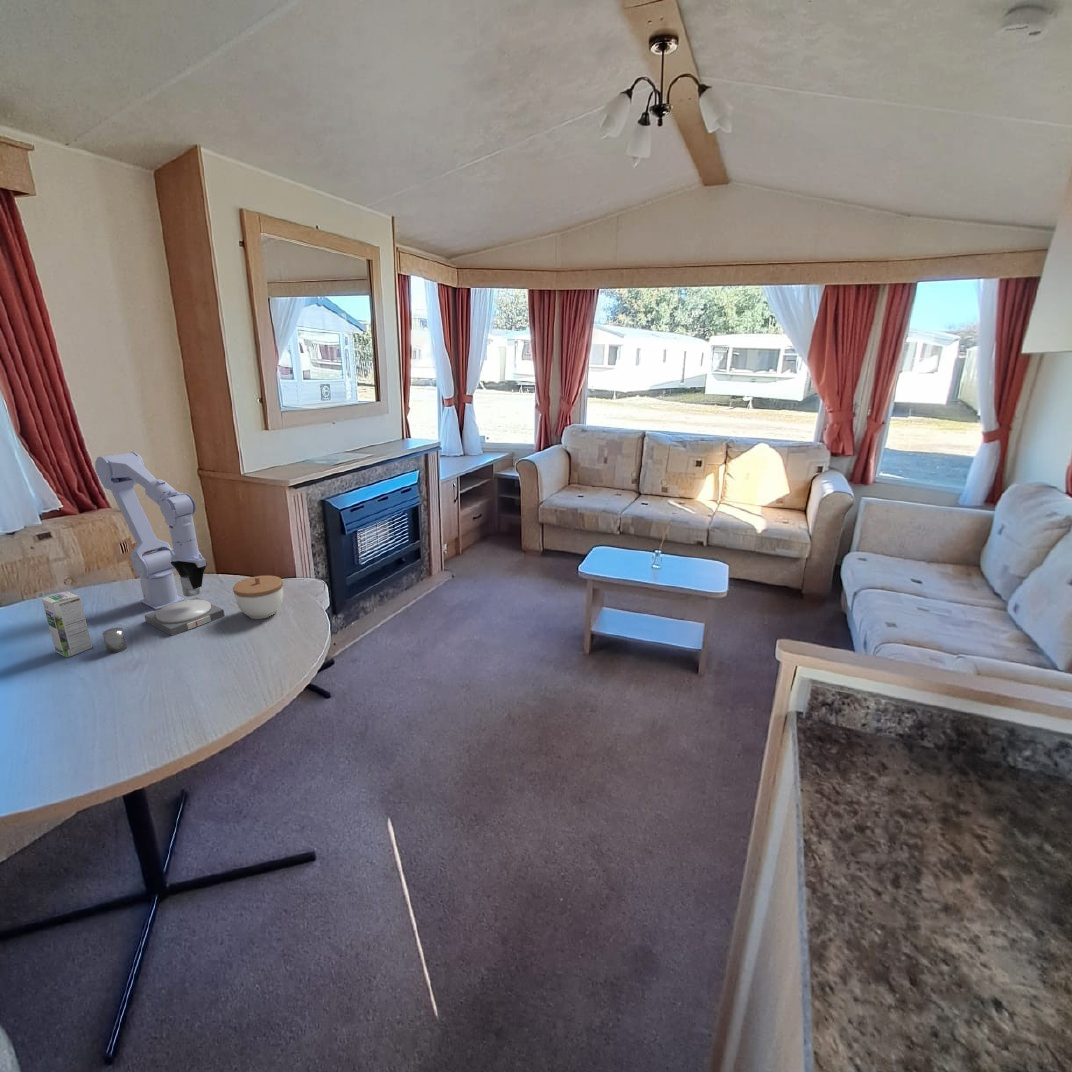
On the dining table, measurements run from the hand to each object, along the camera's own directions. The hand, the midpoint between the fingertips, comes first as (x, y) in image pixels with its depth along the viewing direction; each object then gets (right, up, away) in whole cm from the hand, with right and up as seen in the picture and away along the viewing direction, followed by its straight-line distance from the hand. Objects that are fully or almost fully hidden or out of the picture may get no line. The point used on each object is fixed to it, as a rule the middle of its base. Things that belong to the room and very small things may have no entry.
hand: (193, 585), depth 157 cm
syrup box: (-19, -15, -17) cm, 29 cm away
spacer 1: (-9, -14, -16) cm, 23 cm away
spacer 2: (0, -2, 0) cm, 2 cm away
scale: (-2, -9, 0) cm, 9 cm away
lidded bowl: (+17, -8, +4) cm, 20 cm away
